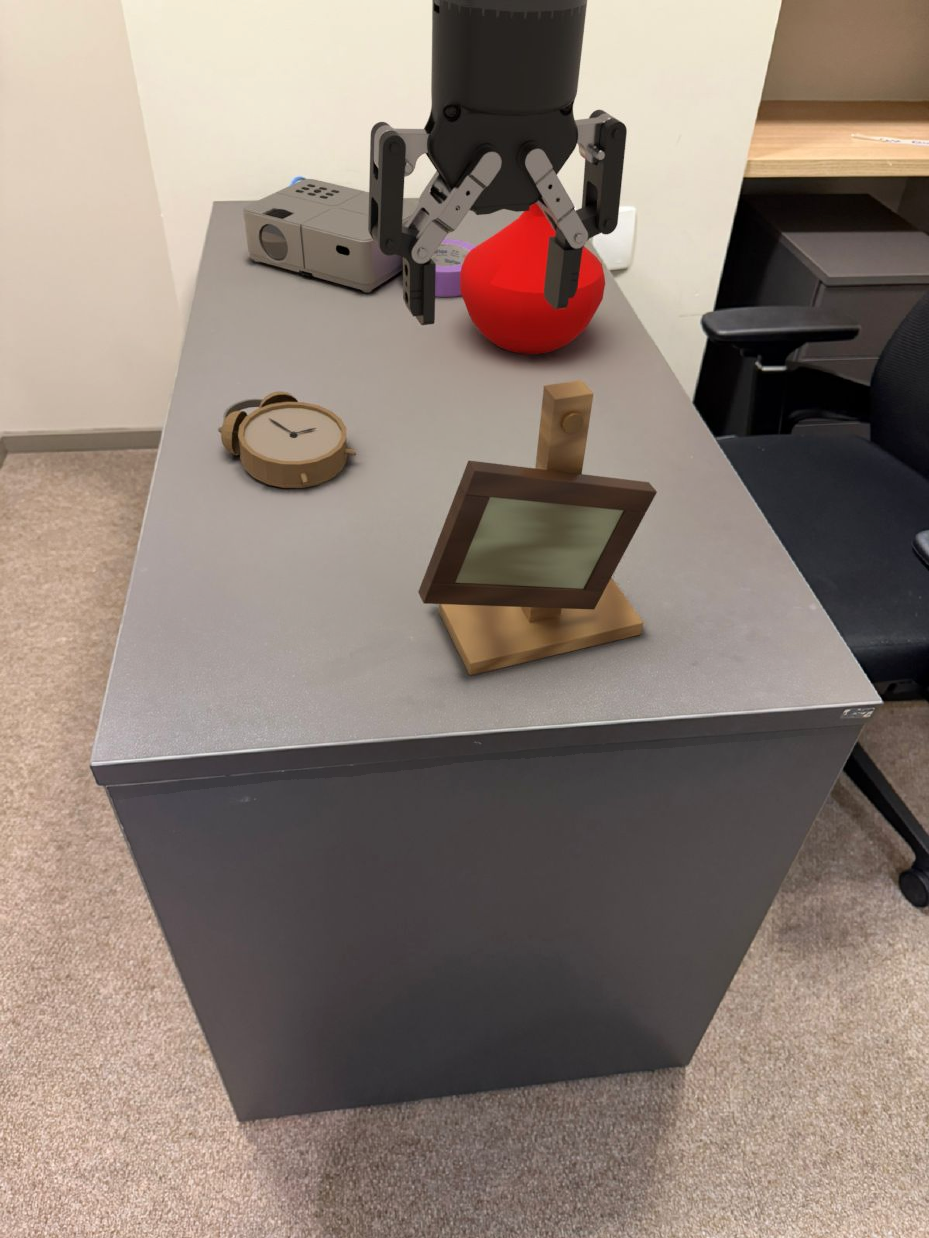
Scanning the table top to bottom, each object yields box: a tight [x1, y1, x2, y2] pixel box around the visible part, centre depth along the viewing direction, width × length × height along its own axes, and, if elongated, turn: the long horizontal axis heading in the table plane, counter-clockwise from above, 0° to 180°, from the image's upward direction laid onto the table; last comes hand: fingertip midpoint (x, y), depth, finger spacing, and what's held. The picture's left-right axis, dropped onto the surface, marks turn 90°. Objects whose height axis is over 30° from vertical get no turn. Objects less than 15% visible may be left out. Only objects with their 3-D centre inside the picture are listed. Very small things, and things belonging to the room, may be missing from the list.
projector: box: [242, 178, 419, 294], centre depth 132 cm, size 17×22×8 cm
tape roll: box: [431, 238, 477, 298], centre depth 130 cm, size 12×12×4 cm
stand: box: [438, 379, 644, 676], centre depth 71 cm, size 16×8×23 cm, turn 110°
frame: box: [417, 460, 658, 610], centre depth 69 cm, size 16×1×12 cm, turn 109°
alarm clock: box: [217, 391, 357, 489], centre depth 96 cm, size 11×5×15 cm
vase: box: [460, 203, 606, 355], centre depth 112 cm, size 18×18×19 cm
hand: (490, 311), depth 54 cm, fingers open, 8 cm apart
